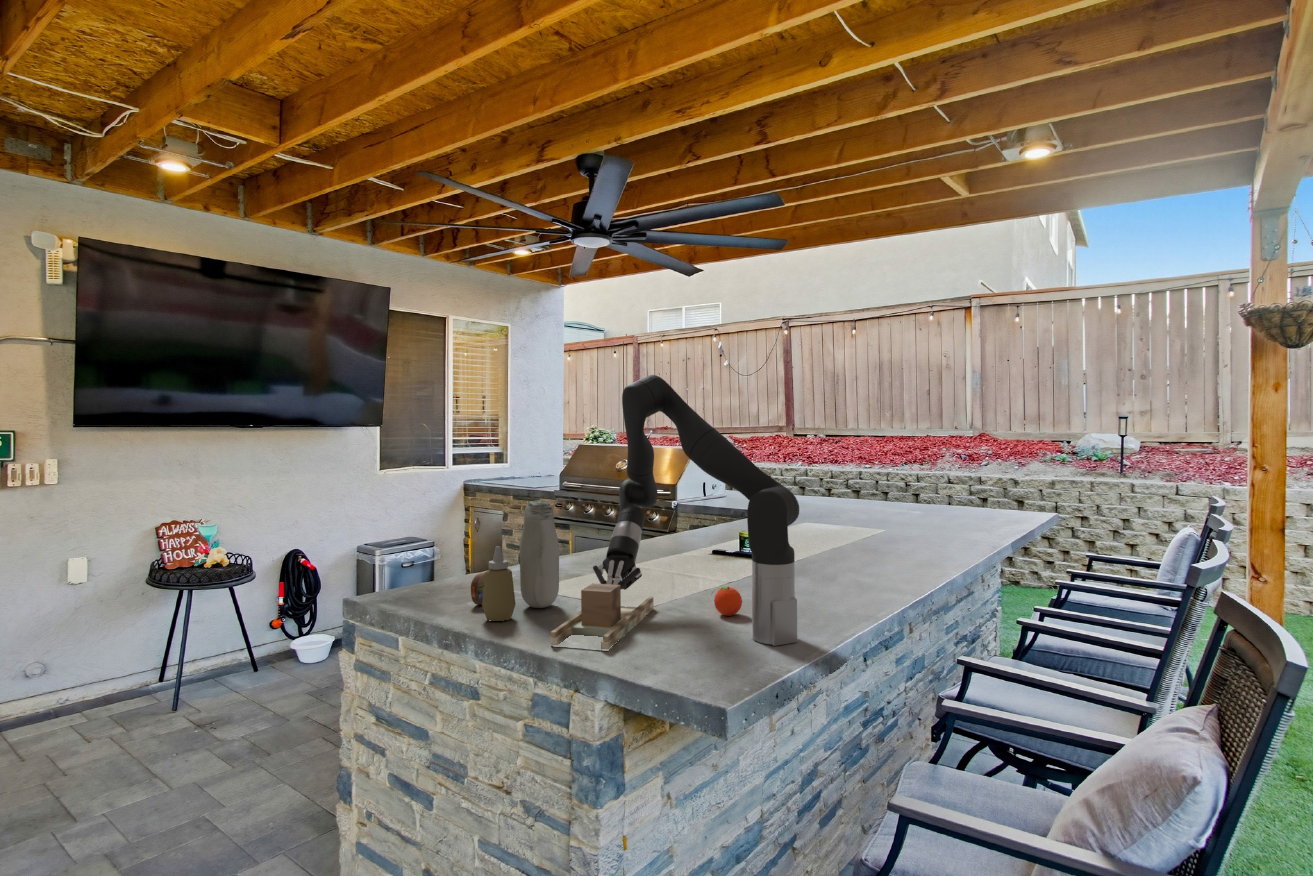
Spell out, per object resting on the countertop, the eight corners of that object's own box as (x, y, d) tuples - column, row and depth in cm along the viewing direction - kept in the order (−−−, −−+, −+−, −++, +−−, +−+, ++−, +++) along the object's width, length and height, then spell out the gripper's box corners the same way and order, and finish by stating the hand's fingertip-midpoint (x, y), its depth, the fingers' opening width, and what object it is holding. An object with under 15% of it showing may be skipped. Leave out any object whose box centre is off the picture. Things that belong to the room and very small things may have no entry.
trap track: (606, 605, 177) (606, 593, 177) (653, 609, 174) (653, 596, 174) (550, 646, 145) (550, 631, 145) (607, 651, 141) (607, 636, 141)
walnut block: (592, 616, 160) (592, 583, 160) (620, 618, 158) (620, 585, 158) (581, 625, 153) (581, 590, 153) (610, 627, 151) (610, 592, 151)
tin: (479, 609, 176) (478, 576, 176) (468, 608, 177) (468, 576, 177) (508, 595, 190) (508, 565, 190) (499, 594, 191) (498, 564, 191)
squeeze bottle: (502, 613, 172) (501, 542, 171) (522, 618, 166) (521, 545, 166) (475, 620, 165) (474, 547, 165) (495, 626, 160) (494, 550, 160)
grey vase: (563, 609, 174) (562, 501, 174) (524, 613, 171) (522, 503, 170) (554, 600, 184) (553, 497, 183) (517, 604, 180) (515, 499, 179)
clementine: (706, 616, 166) (705, 588, 166) (715, 609, 173) (715, 582, 173) (737, 620, 163) (736, 591, 163) (745, 613, 169) (745, 584, 169)
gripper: (652, 552, 174) (638, 612, 163) (604, 550, 178) (587, 608, 167) (646, 535, 169) (631, 596, 158) (597, 533, 173) (579, 592, 161)
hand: (608, 602), depth 162 cm, fingers closed
